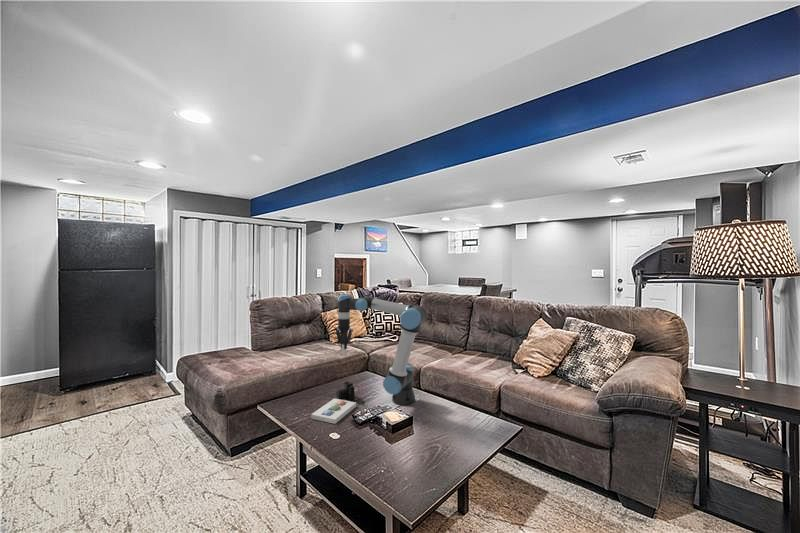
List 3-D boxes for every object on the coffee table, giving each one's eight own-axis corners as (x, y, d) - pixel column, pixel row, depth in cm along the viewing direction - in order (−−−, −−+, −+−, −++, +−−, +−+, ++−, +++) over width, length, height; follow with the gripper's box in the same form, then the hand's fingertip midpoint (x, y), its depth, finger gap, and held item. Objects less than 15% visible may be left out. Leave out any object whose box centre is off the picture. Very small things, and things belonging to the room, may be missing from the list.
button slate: (333, 415, 195) (333, 410, 195) (329, 419, 191) (329, 414, 191) (326, 414, 197) (326, 409, 197) (322, 417, 193) (322, 412, 192)
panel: (356, 406, 209) (356, 402, 209) (335, 423, 186) (335, 419, 186) (334, 402, 215) (334, 398, 214) (311, 418, 192) (311, 414, 192)
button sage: (340, 408, 202) (340, 403, 202) (335, 412, 197) (335, 407, 197) (333, 407, 204) (333, 402, 203) (329, 410, 199) (329, 405, 199)
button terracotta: (346, 406, 208) (346, 401, 208) (342, 409, 204) (342, 404, 204) (339, 404, 210) (339, 399, 210) (335, 407, 206) (335, 402, 206)
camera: (334, 396, 225) (334, 381, 224) (349, 393, 229) (349, 378, 229) (339, 404, 212) (339, 388, 212) (355, 401, 217) (356, 385, 216)
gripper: (355, 318, 221) (355, 353, 222) (338, 316, 226) (338, 351, 226) (349, 319, 214) (349, 356, 215) (332, 318, 219) (332, 354, 219)
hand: (343, 353), depth 221 cm, fingers closed
